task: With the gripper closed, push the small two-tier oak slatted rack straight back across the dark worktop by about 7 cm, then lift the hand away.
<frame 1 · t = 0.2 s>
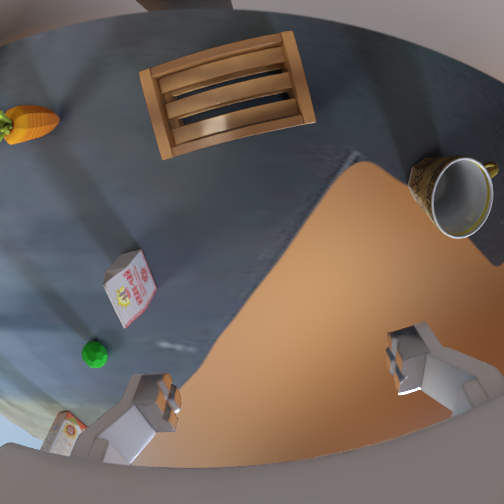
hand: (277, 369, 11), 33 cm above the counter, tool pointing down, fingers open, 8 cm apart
slatted rack: (232, 98, 36), on the counter
polyhedron: (99, 346, 53), on the counter
cracker box: (81, 427, 66), on the counter
tea box: (139, 270, 46), on the counter
ceramic cup: (433, 175, 40), on the counter
carrot: (59, 119, 37), on the counter
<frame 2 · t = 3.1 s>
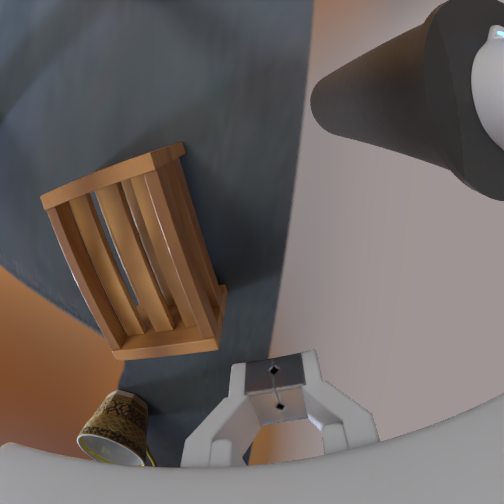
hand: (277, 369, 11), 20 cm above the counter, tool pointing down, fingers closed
slatted rack: (158, 234, 31), on the counter
ceramic cup: (136, 408, 43), on the counter
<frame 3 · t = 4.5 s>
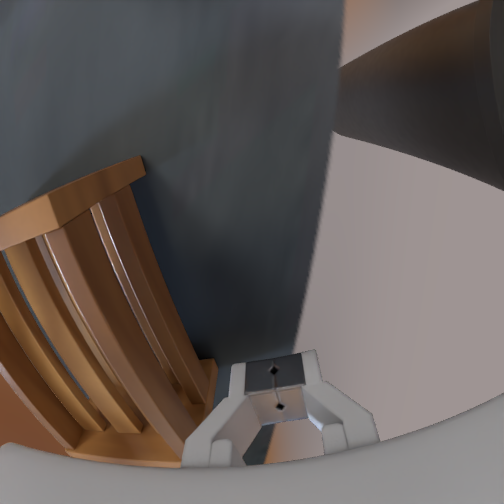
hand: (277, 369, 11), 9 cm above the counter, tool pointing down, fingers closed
slatted rack: (116, 291, 20), on the counter
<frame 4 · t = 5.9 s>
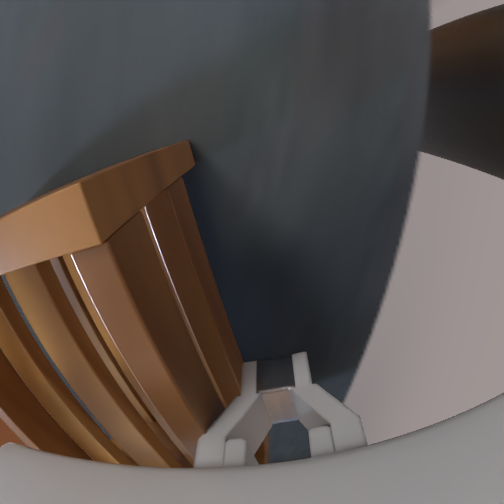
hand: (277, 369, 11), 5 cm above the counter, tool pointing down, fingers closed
slatted rack: (148, 312, 17), on the counter, touching gripper
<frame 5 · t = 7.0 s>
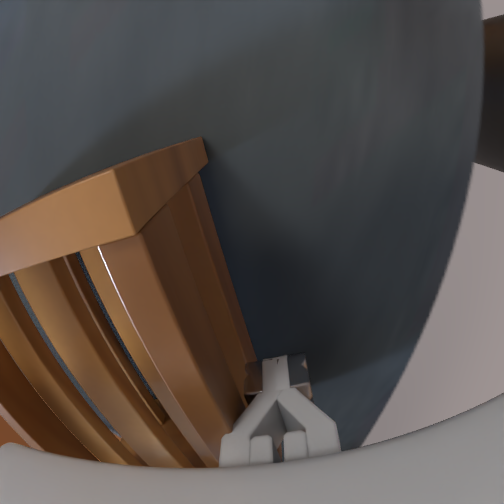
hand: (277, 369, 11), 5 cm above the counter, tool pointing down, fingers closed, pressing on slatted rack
slatted rack: (157, 313, 16), on the counter, touching gripper
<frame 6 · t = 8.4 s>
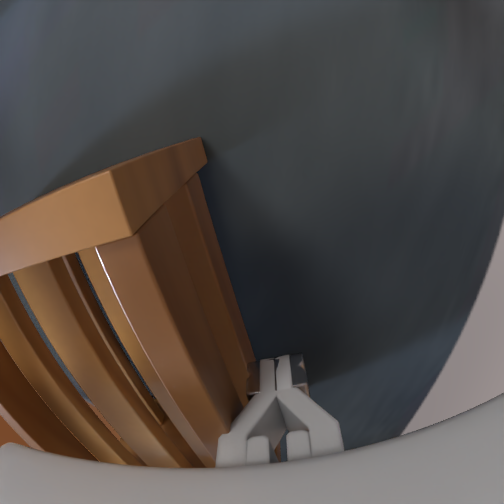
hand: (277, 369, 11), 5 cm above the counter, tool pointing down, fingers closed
slatted rack: (156, 312, 17), on the counter, touching gripper
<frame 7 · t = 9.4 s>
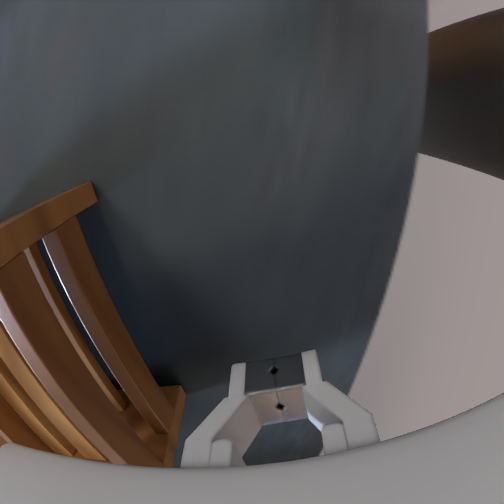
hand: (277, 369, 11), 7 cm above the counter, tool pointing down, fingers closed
slatted rack: (79, 318, 19), on the counter
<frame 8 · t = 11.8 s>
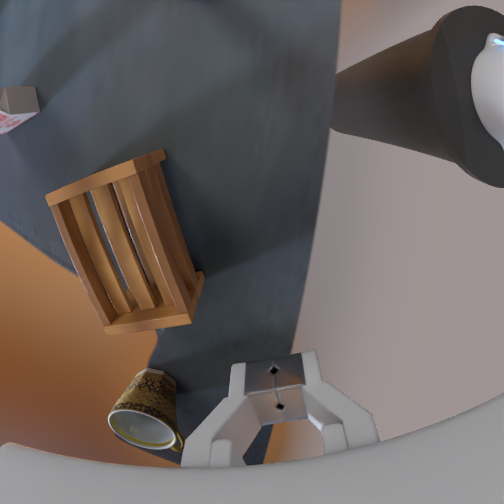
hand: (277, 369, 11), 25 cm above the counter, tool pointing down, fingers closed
slatted rack: (145, 227, 35), on the counter
tea box: (20, 110, 29), on the counter
ceramic cup: (163, 387, 46), on the counter
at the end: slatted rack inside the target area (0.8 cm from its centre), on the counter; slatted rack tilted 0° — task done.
